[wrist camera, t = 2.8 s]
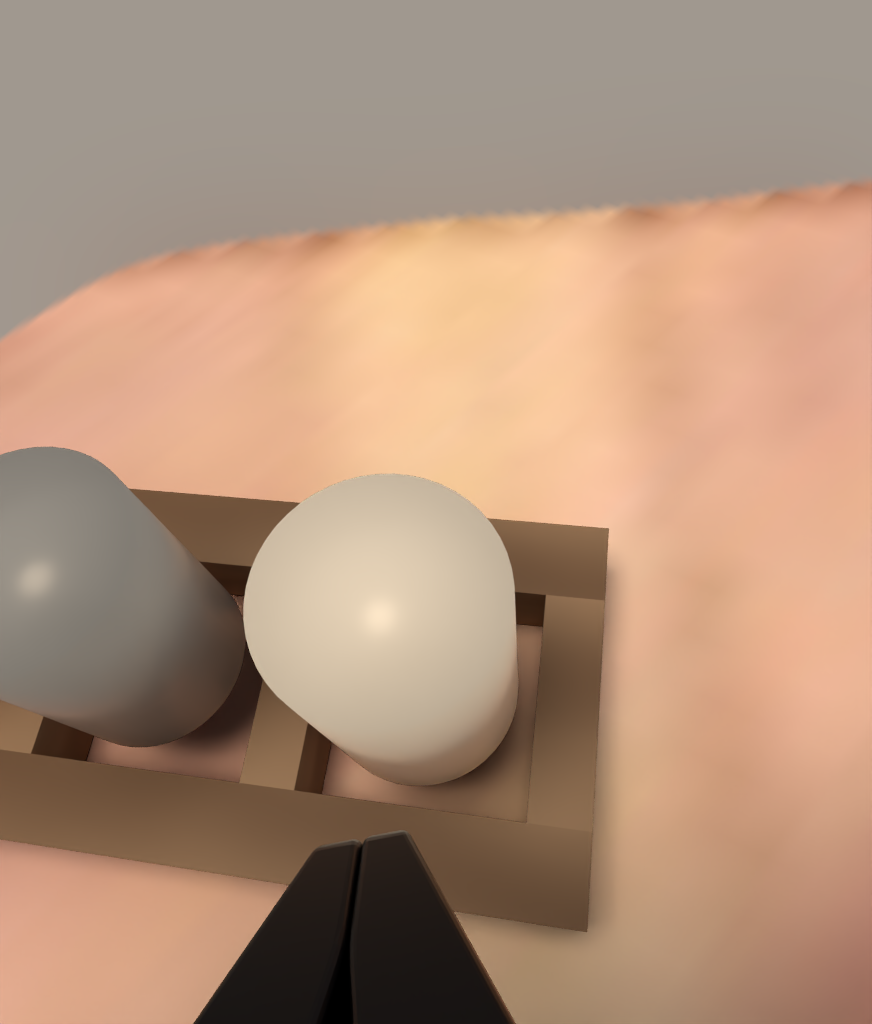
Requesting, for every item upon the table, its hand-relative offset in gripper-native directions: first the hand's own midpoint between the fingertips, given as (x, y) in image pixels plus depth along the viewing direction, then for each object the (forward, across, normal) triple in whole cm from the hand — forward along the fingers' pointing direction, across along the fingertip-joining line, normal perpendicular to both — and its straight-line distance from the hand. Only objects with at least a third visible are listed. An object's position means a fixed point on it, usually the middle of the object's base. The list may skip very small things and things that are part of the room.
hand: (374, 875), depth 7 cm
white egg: (+10, 0, +4) cm, 11 cm away
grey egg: (+12, +6, +3) cm, 14 cm away
